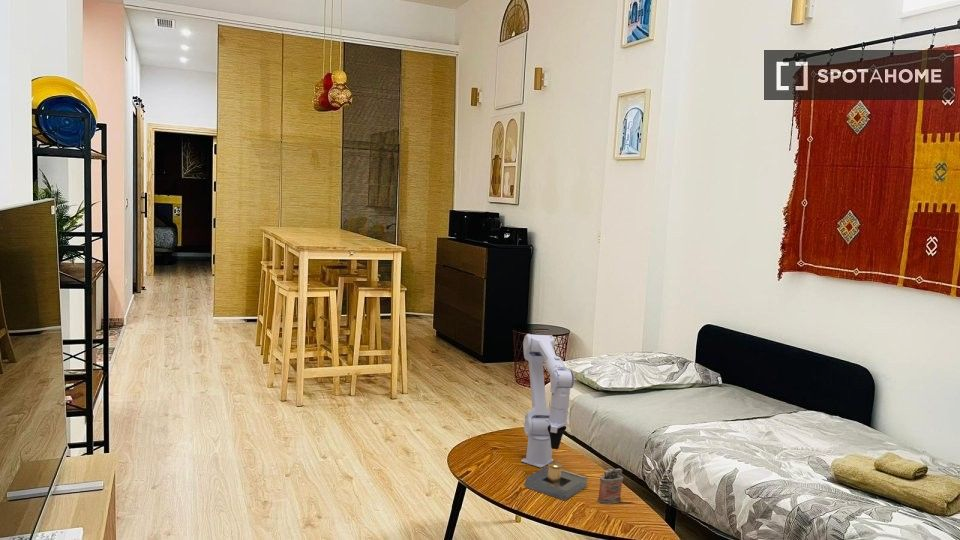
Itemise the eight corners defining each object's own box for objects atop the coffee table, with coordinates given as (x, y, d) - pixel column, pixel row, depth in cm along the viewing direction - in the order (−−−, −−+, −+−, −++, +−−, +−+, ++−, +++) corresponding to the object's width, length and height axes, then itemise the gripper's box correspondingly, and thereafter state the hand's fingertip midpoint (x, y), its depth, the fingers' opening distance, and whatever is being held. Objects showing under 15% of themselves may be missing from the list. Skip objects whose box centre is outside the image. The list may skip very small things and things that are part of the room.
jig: (547, 474, 241) (548, 464, 241) (586, 486, 233) (587, 476, 233) (524, 487, 228) (525, 476, 228) (565, 500, 221) (566, 490, 221)
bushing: (547, 485, 232) (550, 460, 231) (561, 488, 230) (563, 463, 229) (544, 490, 227) (546, 465, 227) (558, 493, 226) (560, 468, 225)
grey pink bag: (601, 504, 221) (605, 472, 219) (595, 500, 223) (598, 468, 222) (622, 501, 224) (626, 470, 223) (616, 497, 227) (619, 466, 226)
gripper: (550, 399, 242) (546, 439, 243) (542, 410, 228) (538, 453, 230) (571, 403, 240) (567, 443, 242) (565, 414, 227) (560, 457, 228)
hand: (554, 448), depth 235 cm, fingers closed
